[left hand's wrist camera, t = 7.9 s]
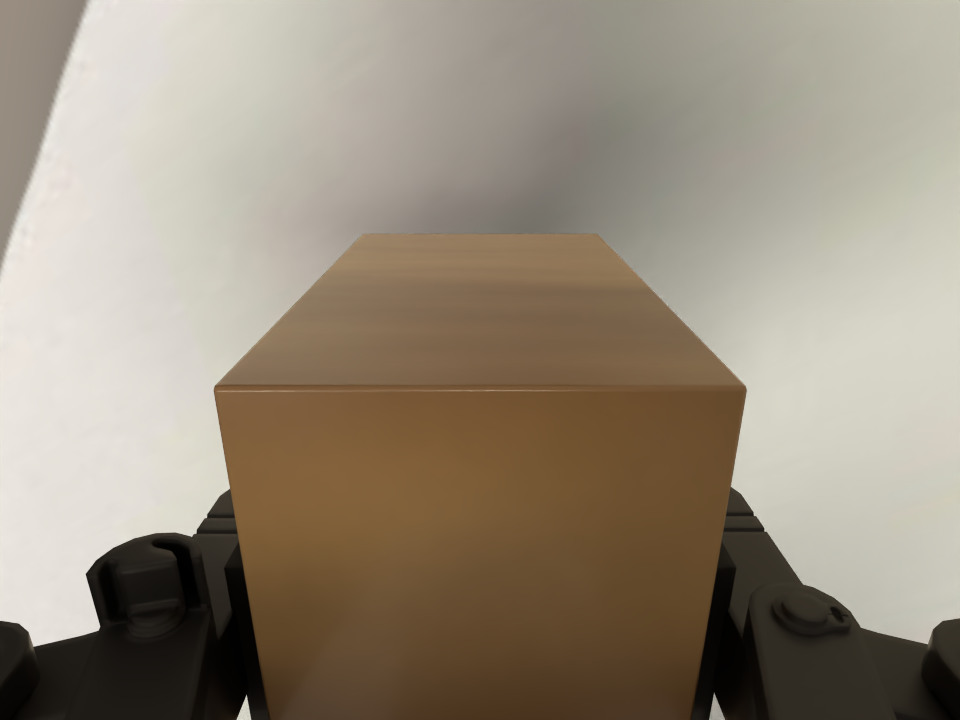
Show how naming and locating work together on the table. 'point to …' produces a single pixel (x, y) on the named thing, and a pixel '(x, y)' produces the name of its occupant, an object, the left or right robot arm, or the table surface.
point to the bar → (480, 486)
